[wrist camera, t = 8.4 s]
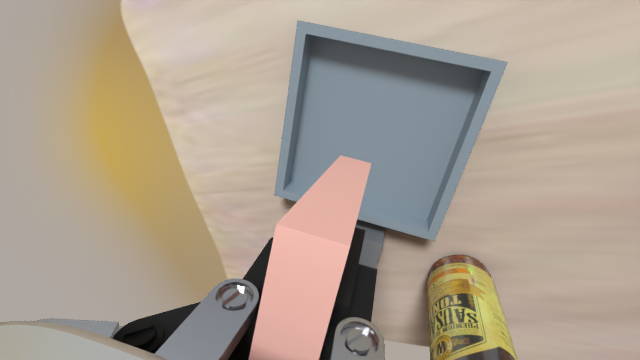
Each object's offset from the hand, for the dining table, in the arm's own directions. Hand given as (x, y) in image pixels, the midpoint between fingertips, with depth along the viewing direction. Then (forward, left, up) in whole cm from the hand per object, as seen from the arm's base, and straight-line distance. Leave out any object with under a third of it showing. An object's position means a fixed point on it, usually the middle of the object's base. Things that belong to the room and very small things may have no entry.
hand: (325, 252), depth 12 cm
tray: (0, 0, -19) cm, 19 cm away
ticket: (0, +1, -5) cm, 5 cm away
